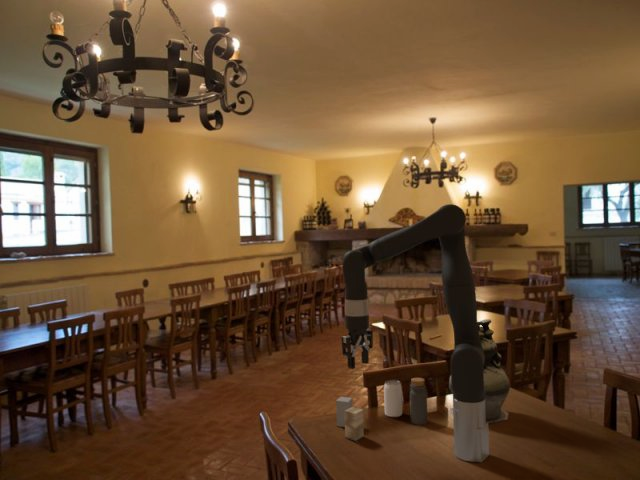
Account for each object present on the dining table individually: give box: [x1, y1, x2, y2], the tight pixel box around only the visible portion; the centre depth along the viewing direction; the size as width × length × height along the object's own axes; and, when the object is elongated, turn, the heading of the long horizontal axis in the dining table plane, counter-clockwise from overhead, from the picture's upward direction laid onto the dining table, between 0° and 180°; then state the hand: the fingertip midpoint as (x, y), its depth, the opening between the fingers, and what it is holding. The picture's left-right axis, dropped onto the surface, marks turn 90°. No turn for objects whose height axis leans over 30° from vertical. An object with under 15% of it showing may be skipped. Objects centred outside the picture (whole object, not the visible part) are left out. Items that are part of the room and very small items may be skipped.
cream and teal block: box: [344, 406, 365, 442], centre depth 164 cm, size 4×4×9 cm
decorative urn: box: [448, 318, 511, 424], centre depth 180 cm, size 21×21×35 cm
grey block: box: [335, 396, 354, 428], centre depth 175 cm, size 4×4×9 cm
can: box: [383, 379, 403, 418], centre depth 184 cm, size 6×6×12 cm
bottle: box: [409, 377, 428, 426], centre depth 176 cm, size 6×6×15 cm
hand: (358, 365), depth 156 cm, fingers open, 7 cm apart
